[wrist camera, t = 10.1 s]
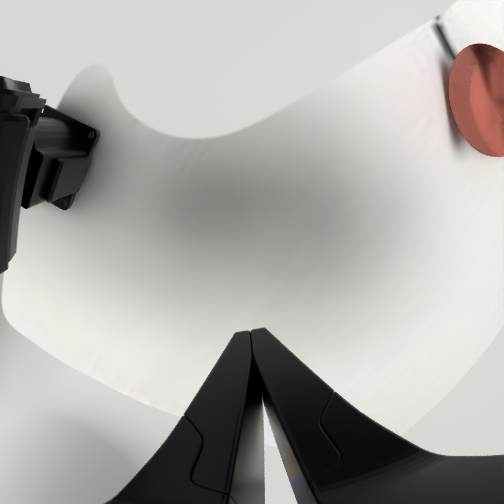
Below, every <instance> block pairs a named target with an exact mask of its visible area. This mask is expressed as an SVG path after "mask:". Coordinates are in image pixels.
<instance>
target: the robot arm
mask: <svg viewBox="0 0 504 504" xmlns="http://www.w3.org/2000/svg"><path fill="white" fill-rule="evenodd" d="M39 96H40V95H39V94H35V93H32V92H31V88H30V84H29V83H25V82H21V81H16V80H12V79H9V78H6V77H3V76H0V274H1V273H3V272H4V271H6V270H7V269H8V262H10V260H11V259H12V257H13V256H14V254H15V253H16V248H17V236H18V225H19V216H20V208H21V206H22V207H23V208H25V209H28V208H30V207H32V206H35V205H37V204H40V203H42V202H45V201H46V202H48V203H49V202H50V203H52V204H54V205H55V206H57V207H59V208H60V209H62V210H67V209H69V208H70V207H71V205H72V202H73V199H74V196H75V194H76V192H78V191H79V189H80V187H81V184H82V182H83V179H84V176H85V174H86V171H87V169H88V167H89V164H90V162H91V159H90V156H91V153H92V151H93V149H94V147H95V144H96V142H97V140H98V138H99V131H98V130H97V129H96V128H94V127H92V126H90V125H88V124H86V123H84V122H82V121H80V120H77V119H75V118H73V117H71V116H69V115H67V114H65V113H63V112H61V111H58V110H56V109H54V108H52V107H50V106H48V105H45V103H46V99H42V98H39ZM42 109H44V111H43V113H42ZM92 132H94V137H93V138H91V136H90V135H91V133H92ZM64 201H66V203H67V205H66V206H65V205H64ZM262 399H263V401H262ZM263 403H264V407H265V410H266V413H267V416H268V419H269V422H270V425H271V428H272V431H273V434H274V437H275V440H276V443H277V446H278V449H279V452H280V455H281V458H282V461H283V464H284V467H285V469H286V472H287V475H288V478H289V481H290V483H291V486H292V489H293V492H294V494H295V498H296V500H297V503H298V504H504V455H493V456H445V455H440V454H436V453H432V452H429V451H427V450H424V449H422V448H420V447H418V446H416V445H415V444H413V443H411V442H409V441H408V440H406V439H404V438H402V437H401V436H399V435H397V434H395V433H394V432H392V431H390V430H389V429H387V428H385V427H384V426H382V425H380V424H379V423H377V422H375V421H374V420H372V419H371V418H369V417H368V416H366V415H365V414H363V413H362V412H360V411H359V410H358V409H356V408H355V407H354V406H353V405H351V404H350V403H349V402H347V401H346V400H345V399H344V398H343V397H342V396H340V395H339V394H338V393H337V392H334V390H333V389H332V388H331V387H330V386H329V385H328V384H326V383H325V382H324V381H323V380H322V379H321V378H320V377H319V376H317V375H316V374H315V373H314V372H313V371H312V370H311V369H310V368H308V367H307V366H306V365H305V364H304V363H303V362H302V361H301V360H300V359H298V358H297V357H296V356H295V355H294V354H293V353H292V352H291V351H290V350H289V349H288V348H286V347H285V346H284V345H283V344H282V343H281V342H280V341H279V340H278V339H277V338H276V337H275V336H274V335H272V334H271V333H270V332H269V331H268V330H267V329H266V328H258V329H253V330H251V333H250V331H248V330H247V331H241V332H236V333H235V334H234V335H233V337H232V338H231V340H230V342H229V343H228V345H227V347H226V348H225V350H224V351H223V353H222V355H221V356H220V358H219V359H218V361H217V363H216V364H215V366H214V367H213V369H212V371H211V372H210V374H209V375H208V377H207V378H206V380H205V382H204V383H203V385H202V386H201V388H200V389H199V391H198V393H197V394H196V396H195V397H194V399H193V400H192V402H191V404H190V405H189V407H188V408H187V410H186V411H185V413H184V416H182V417H181V419H180V420H179V422H178V424H177V425H176V426H175V428H174V429H173V431H172V432H171V433H170V435H169V436H168V438H167V439H166V440H165V442H164V443H163V444H162V445H161V447H160V448H159V449H158V450H157V451H156V453H155V454H154V455H153V456H152V458H151V459H150V460H149V461H148V462H147V463H146V464H145V465H144V467H142V469H141V470H140V471H139V472H138V473H137V474H136V475H135V476H134V477H133V478H132V479H131V480H130V482H129V483H128V484H127V485H126V486H125V487H124V488H123V489H122V490H121V491H120V492H119V493H118V494H117V495H116V496H114V497H113V498H112V499H110V500H109V501H107V502H106V503H104V504H265V483H264V421H263Z"/></svg>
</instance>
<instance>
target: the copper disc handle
mask: <svg viewBox="0 0 504 504" xmlns="http://www.w3.org/2000/svg"><path fill="white" fill-rule="evenodd" d="M449 100H450V106H451V110H452V114H453V116H454V119H455V122H456V124H457V126H458V128H459V130H460V132H461V133H462V135H463V137H464V138H465V139H466V140H467V142H468V143H469V144H470V145H471V146H472V147H473V148H475V149H476V150H477V151H479V152H480V153H483V154H485V155H488V156H493V157H504V51H502V50H500V49H498V48H495V47H493V46H491V45H487V44H473V45H470V46H468V47H466V48H464V49H463V50H462V51H461V52H460V53H459V54H458V55H457V57H456V58H455V60H454V62H453V65H452V68H451V71H450V76H449Z"/></svg>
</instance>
